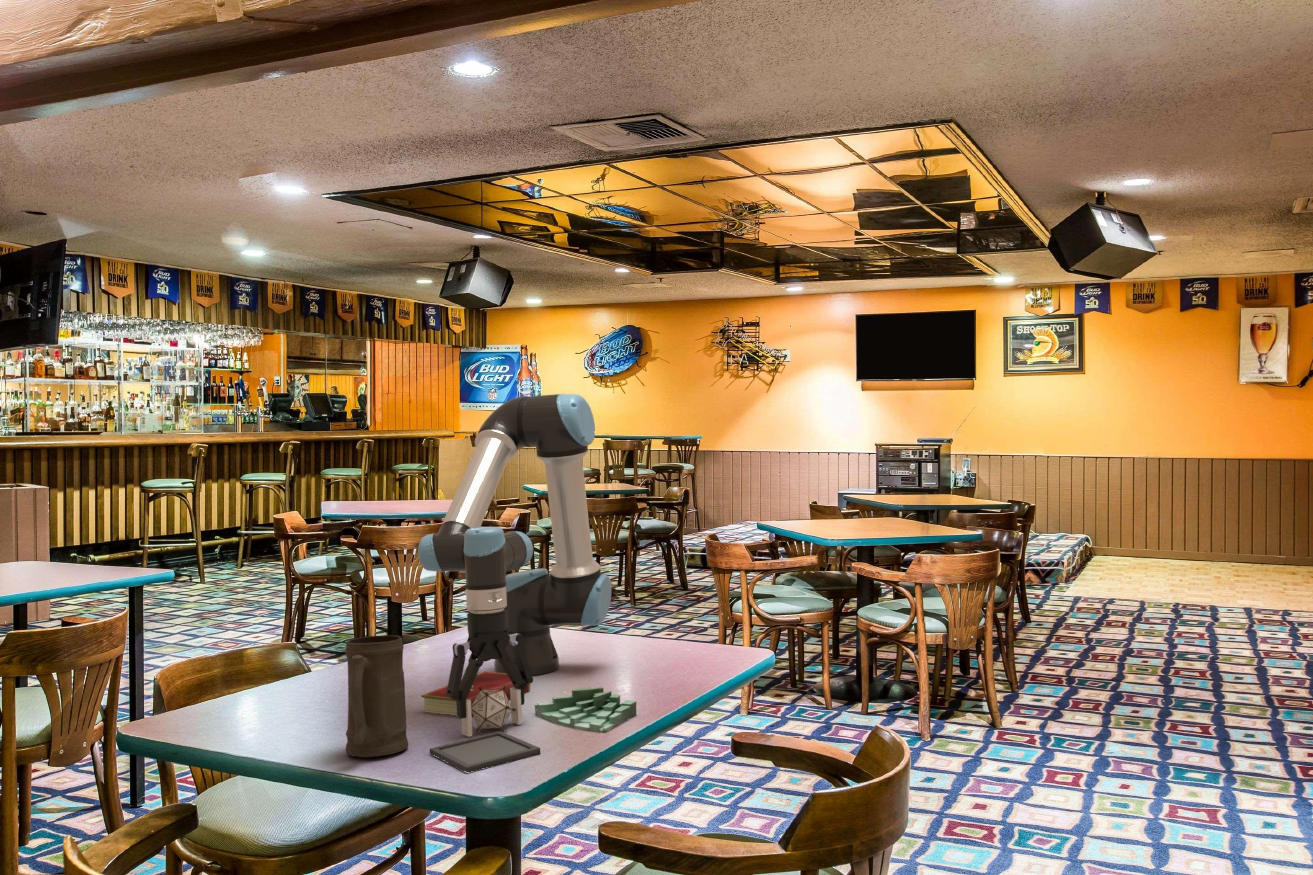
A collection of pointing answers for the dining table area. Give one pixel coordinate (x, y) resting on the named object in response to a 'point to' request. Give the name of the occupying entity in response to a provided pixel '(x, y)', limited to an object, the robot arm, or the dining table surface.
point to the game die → (491, 709)
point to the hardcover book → (486, 680)
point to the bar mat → (485, 751)
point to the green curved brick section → (587, 710)
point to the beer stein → (376, 696)
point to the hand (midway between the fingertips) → (492, 728)
